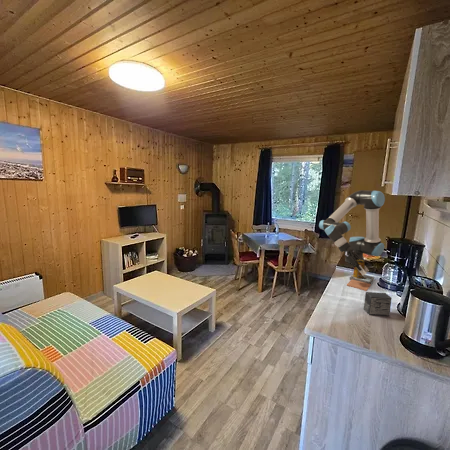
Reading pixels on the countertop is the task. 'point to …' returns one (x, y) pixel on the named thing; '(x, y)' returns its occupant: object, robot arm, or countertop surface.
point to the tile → (359, 285)
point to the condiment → (356, 272)
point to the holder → (364, 280)
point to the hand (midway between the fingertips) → (366, 273)
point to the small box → (377, 304)
